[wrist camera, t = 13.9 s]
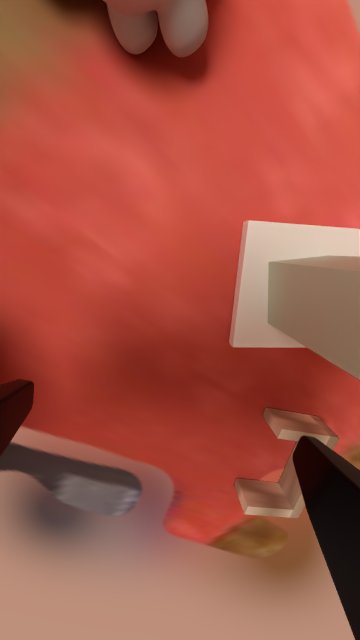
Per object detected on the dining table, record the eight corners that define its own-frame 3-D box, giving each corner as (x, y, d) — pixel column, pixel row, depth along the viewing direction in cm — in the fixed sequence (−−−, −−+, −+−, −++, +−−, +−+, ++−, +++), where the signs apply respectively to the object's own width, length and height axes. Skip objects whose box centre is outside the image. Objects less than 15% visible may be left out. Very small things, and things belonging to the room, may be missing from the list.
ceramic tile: (228, 343, 21) (232, 347, 20) (243, 221, 19) (248, 220, 18) (331, 343, 23) (339, 347, 22) (359, 230, 20) (369, 229, 19)
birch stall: (234, 485, 26) (244, 514, 23) (265, 407, 24) (281, 429, 21) (282, 490, 27) (298, 518, 25) (317, 416, 25) (339, 437, 22)
